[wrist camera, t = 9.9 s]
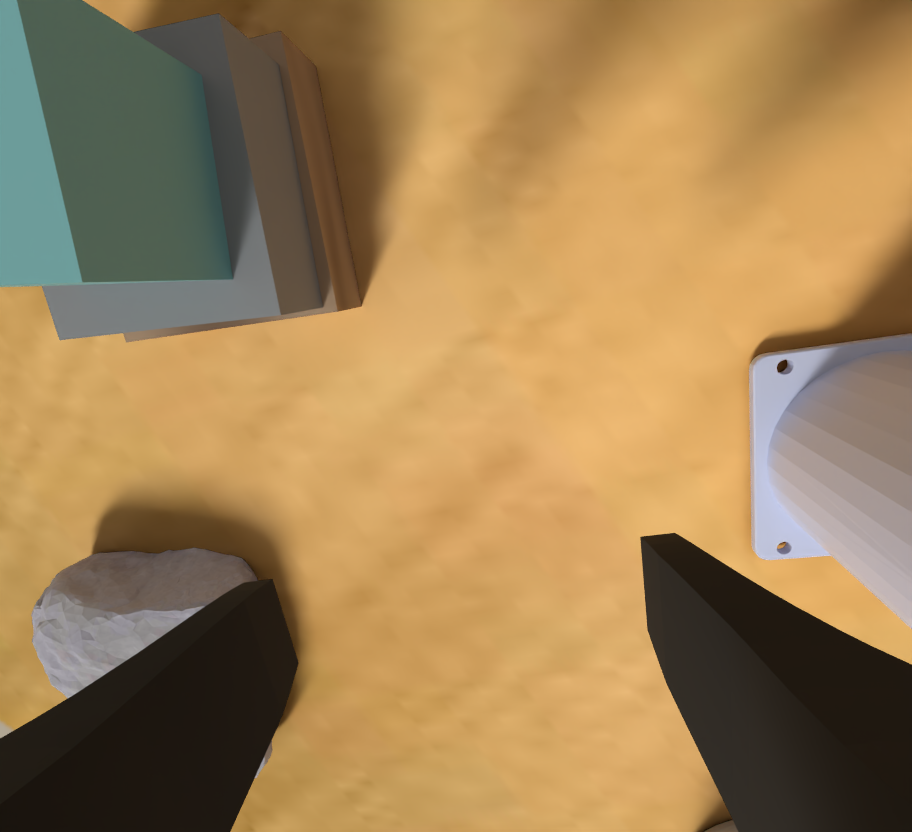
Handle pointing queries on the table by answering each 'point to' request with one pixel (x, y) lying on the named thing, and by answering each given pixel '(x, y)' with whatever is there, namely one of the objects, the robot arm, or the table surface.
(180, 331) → the walnut slab
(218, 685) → the robot arm
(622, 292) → the table surface
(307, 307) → the grey block
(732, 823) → the cupcake
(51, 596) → the stone block
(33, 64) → the teal cube
